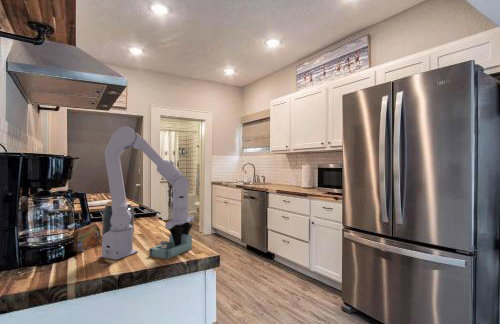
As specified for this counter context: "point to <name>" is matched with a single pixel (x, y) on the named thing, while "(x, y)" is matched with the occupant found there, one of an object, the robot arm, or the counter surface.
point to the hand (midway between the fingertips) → (180, 244)
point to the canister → (108, 214)
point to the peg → (164, 244)
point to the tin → (86, 237)
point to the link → (172, 247)
